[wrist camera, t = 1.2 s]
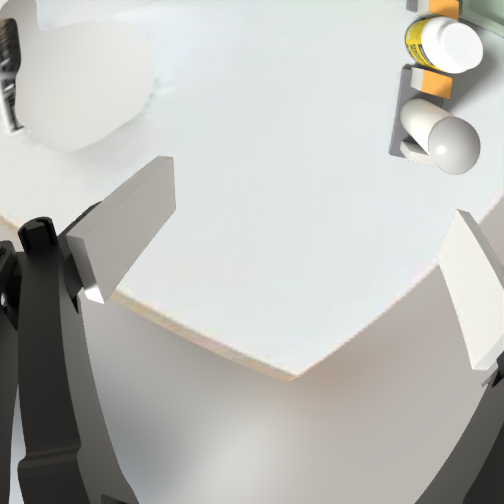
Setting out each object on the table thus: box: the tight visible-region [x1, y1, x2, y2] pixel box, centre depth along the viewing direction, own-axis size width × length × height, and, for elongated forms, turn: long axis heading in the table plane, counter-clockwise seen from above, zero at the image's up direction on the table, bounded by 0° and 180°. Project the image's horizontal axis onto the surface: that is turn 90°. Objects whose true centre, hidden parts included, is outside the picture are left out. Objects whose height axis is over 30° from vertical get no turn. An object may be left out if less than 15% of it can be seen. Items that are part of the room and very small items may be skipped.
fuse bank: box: [389, 0, 480, 175], centre depth 18 cm, size 27×5×12 cm, turn 179°
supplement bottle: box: [404, 17, 483, 73], centre depth 19 cm, size 5×5×10 cm
